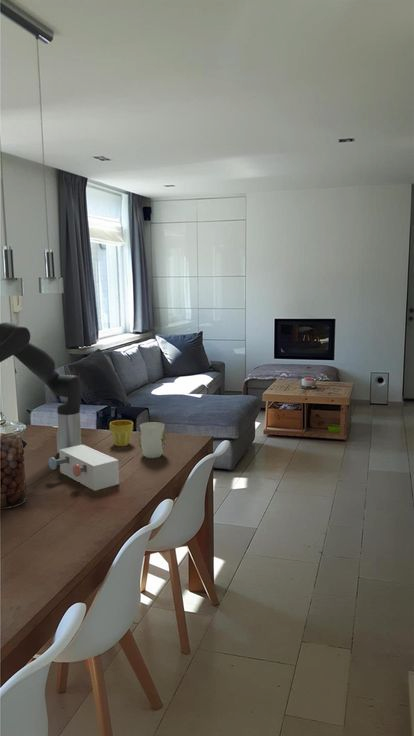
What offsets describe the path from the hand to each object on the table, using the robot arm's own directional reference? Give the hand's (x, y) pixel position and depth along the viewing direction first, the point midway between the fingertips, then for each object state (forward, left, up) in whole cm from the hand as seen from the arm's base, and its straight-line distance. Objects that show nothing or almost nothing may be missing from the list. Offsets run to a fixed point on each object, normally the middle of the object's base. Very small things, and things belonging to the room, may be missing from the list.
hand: (24, 445), depth 203 cm
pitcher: (+31, +46, -15) cm, 58 cm away
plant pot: (+12, +58, -15) cm, 61 cm away
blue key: (+8, +12, -11) cm, 18 cm away
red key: (+20, +7, -11) cm, 24 cm away
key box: (+17, +14, -15) cm, 27 cm away
